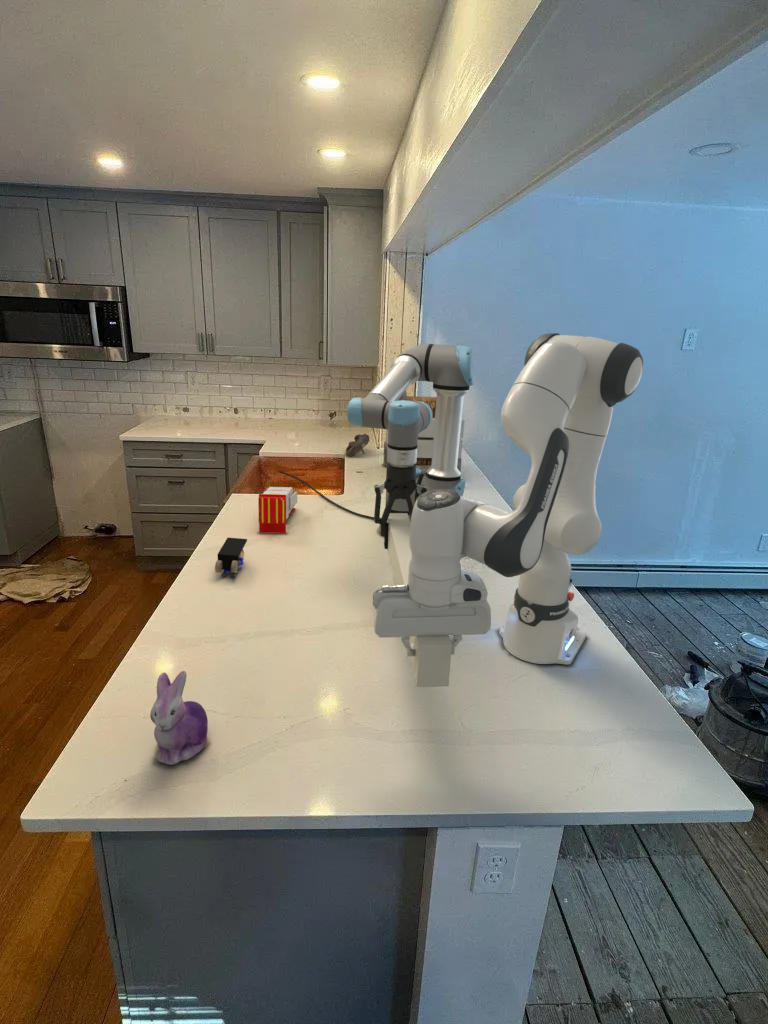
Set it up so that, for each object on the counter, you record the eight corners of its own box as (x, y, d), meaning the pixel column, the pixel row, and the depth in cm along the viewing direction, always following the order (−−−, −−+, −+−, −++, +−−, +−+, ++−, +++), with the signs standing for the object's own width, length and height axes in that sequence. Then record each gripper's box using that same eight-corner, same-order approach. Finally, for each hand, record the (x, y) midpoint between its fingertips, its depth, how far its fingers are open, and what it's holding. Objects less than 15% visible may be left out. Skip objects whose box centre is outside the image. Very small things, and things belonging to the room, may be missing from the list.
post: (385, 541, 156) (386, 513, 153) (405, 541, 156) (407, 513, 153) (416, 687, 98) (419, 645, 95) (448, 686, 98) (452, 645, 95)
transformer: (382, 463, 289) (386, 382, 275) (445, 464, 293) (451, 384, 279) (390, 482, 257) (394, 392, 243) (460, 483, 261) (468, 394, 247)
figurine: (158, 776, 94) (149, 701, 89) (151, 736, 102) (142, 665, 97) (216, 758, 98) (211, 685, 93) (204, 721, 107) (199, 653, 102)
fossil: (345, 440, 316) (366, 424, 311) (356, 453, 319) (377, 438, 314) (339, 453, 297) (361, 437, 292) (350, 467, 300) (373, 452, 295)
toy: (299, 482, 220) (288, 496, 190) (299, 516, 222) (288, 534, 193) (267, 481, 219) (252, 495, 190) (268, 515, 222) (253, 533, 193)
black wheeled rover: (238, 584, 162) (249, 557, 175) (236, 562, 158) (247, 536, 172) (215, 584, 161) (227, 556, 175) (212, 561, 158) (225, 535, 171)
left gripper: (365, 467, 139) (363, 553, 147) (440, 468, 140) (434, 552, 149) (364, 458, 146) (362, 541, 154) (435, 459, 147) (429, 541, 156)
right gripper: (373, 595, 92) (373, 666, 97) (497, 591, 94) (490, 662, 99) (371, 577, 98) (370, 645, 103) (487, 574, 100) (481, 641, 105)
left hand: (397, 546), depth 152 cm, fingers closed on post, 6 cm apart
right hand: (430, 653), depth 101 cm, fingers closed on post, 5 cm apart
